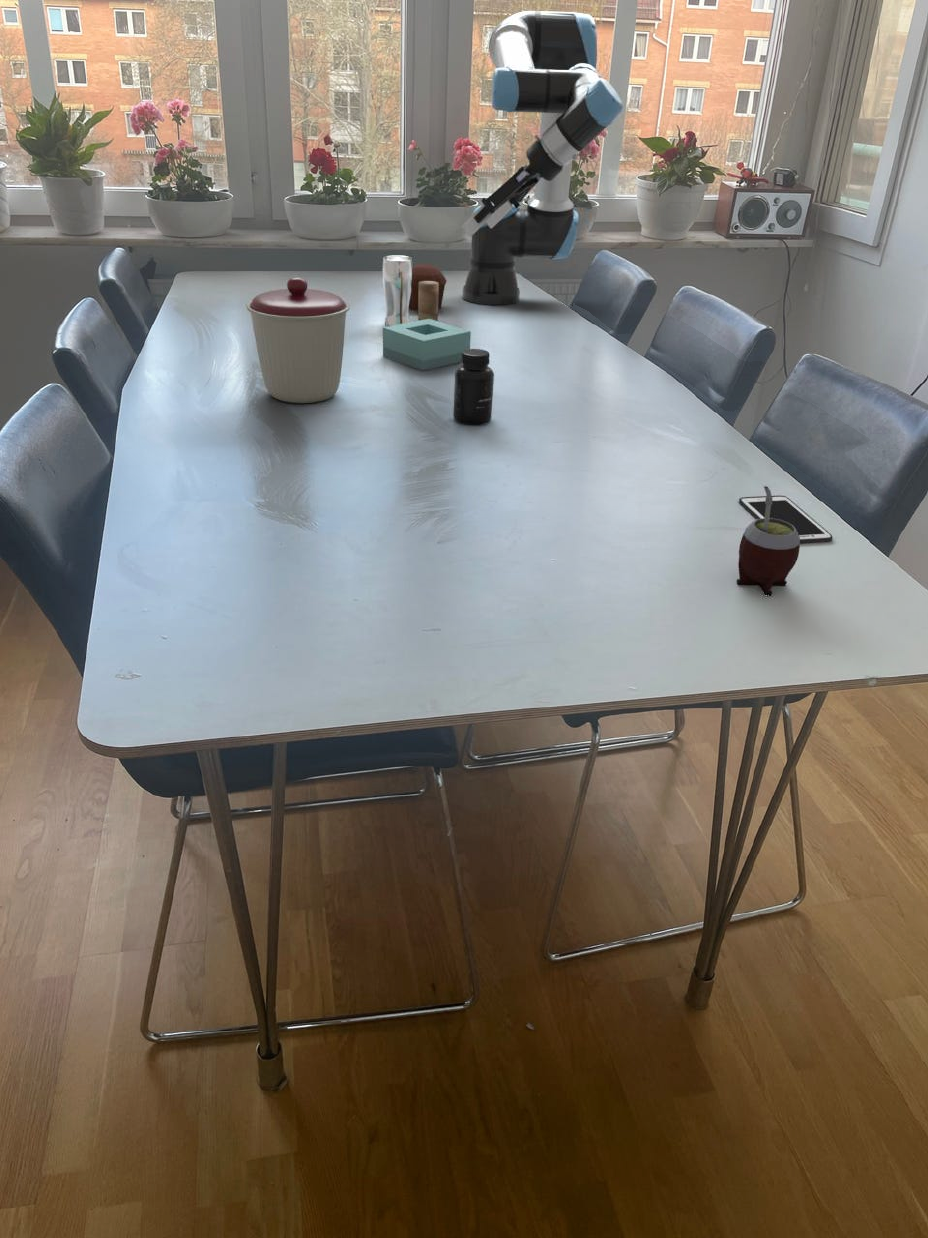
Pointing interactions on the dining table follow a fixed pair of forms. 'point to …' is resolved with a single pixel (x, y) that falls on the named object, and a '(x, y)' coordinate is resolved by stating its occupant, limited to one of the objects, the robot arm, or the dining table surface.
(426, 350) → the socket block
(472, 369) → the supplement bottle
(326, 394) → the canister
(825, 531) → the cell phone
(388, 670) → the dining table surface
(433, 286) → the dowel pin
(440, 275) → the muffin
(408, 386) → the dining table surface
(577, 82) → the robot arm
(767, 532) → the mate gourd
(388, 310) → the beer glass
